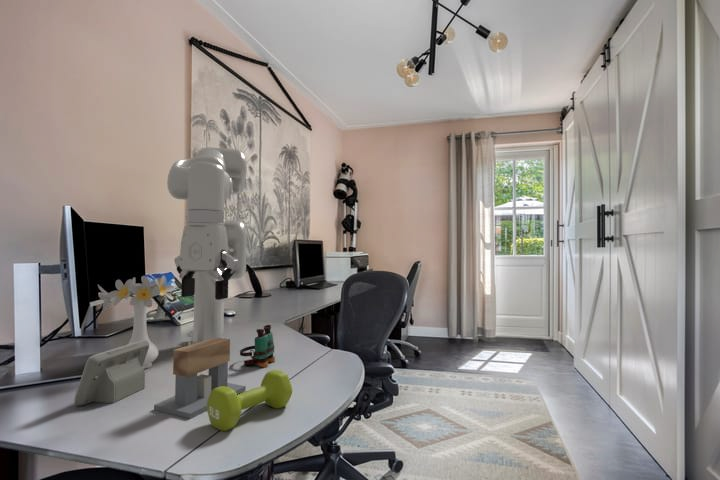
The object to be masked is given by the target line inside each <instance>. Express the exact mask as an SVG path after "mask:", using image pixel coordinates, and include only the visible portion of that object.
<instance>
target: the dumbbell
mask: <svg viewBox="0 0 720 480" xmlns="http://www.w3.org/2000/svg"><path fill="white" fill-rule="evenodd" d="M292 394H293V387H292V384H291V381H290V378H289V375H288V374H287V373H286V372H285V371H282V370H279V369H272V370H269V371H267V372H266V373H265V374H264V376H263V378H262V380H261V383H260V386H257V387H255V388H251V389H248V390H246V391H244V392H242V393H240V394H238V395H237V393H236V392H235V391H234V390H233V389H231V388H229V387H226V386H220V387H217V388H214V389H213V390H212V391H211V393H210V396H209V398H208V401H207V415H208V419H209V422H210V425H211V426H212V427H214V428H215V429H217V430H219V431H221V432H226V431H229V430H232V429H233V428H234V427H236V425H237V423H238V422H239V420H240V417H241V415H242V414H241V413H242V410H243V411H244V410H246V409H249V408H252V407H254V406H256V405H259V404H261V403H265V404H266V405H268V406H269V407H271V408H274V409H282V408H285V407H286V406H287V405H288V403H289V402H290V399H291V397H292Z"/></svg>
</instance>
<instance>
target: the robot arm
mask: <svg viewBox="0 0 720 480" xmlns="http://www.w3.org/2000/svg"><path fill="white" fill-rule="evenodd" d="M247 166H248V163H247V160H246V157H245V154H244V153H243V152H242V151H240V149H239V150H238V149H233V148H223V147H211V146H210V147H204V148H203V147H202V148H201V149H200V150H198V152H196V154H195V157H191V158H184V159H180V160H177V161H175V162H174V163H173V164H172V165H171V167H170V169H169V172H168V175H167V179H166V180H167V181H166V182H167V189H168V193H169V194H170V195H171V197H172V198H174V199H176V200H177V199H178V200H183V201H184V200H186V203H187V206H186V207H187V209H186V210H187V212H186V213H187V214H186V216H185V219H186V225H184V227H183V231H182V236H181V240H180V241H181V242H180V249H179V250H180V251H179V255H178V256H176V257H175V258H174V260H173V261H174V264H175V267H176V272H178V274H179V275H178V277H179V278H180V280H181V292H180V294H181V295H180V296H181V297H182V298H187V297H193V329H191V330H189V332H187V333H186V337H189V338H191V339H190V341H188V343H187V346H189V345H192V344H196V343H199V342H203V341H206V340H210V339H213V338H225V339H228V338H227V337H224V328H225V327H224V324H225V323H224V321H225V320H224V319H225V318H224V317H225V316H224V315H225V300H226V299H228V298H229V281H231V280H236V279H242V278H243V277H245V274H246V272H247V228H246V226H245V224H244V223H243V222H242V221H241V220H235V219H225V201H226V200H228V199H229V198H230V196H231V195H241V194H243V192H244V190H245V188H246V187H245V186H246V180H247V179H246V178H247V172H248V170H247V169H248V167H247ZM229 248H230V249H232V251H229Z"/></svg>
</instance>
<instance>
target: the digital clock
mask: <svg viewBox="0 0 720 480" xmlns="http://www.w3.org/2000/svg"><path fill="white" fill-rule="evenodd" d="M148 349H149V342H148V341H146V340H143V341H138V342H135V343H131V344H128V343H127V344H125V345H122V346H119V347H115V348H112V349H109V350H106V351H103V352H99V353H95V354H93V355H91V356H89V357H88V358H87V360H86V362H85V364H84V369H83V371H82V374H81V378H80V381H79V384H78V387H77V390H76V391H75V395H74V398H73V399H74V401H73V402H74V405H76V406H85V405H88V404H89V403H92V402H96V403H97V402H98V403H104V404H105V403H106V404H107V403H108V404H114V403H117V402H119V401H121V400H122V399H125V398H126V397H129V396H132V395H134V394H136V393H138V392H139V391H142V390H144V389H145V387H146V385H145V383H146V379H145V378H146V371H145V370H146V369H143V368H142V366H143V363H144V361H145V358H146V355H147V352H148Z"/></svg>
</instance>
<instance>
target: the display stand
mask: <svg viewBox="0 0 720 480" xmlns="http://www.w3.org/2000/svg"><path fill="white" fill-rule="evenodd" d="M228 364H229V361H228V362H226V363H223V364H220V365H218V366H215V367H212V368H210V369H208V375H207V374H203V373H202V374H198V373H197V374H194V375H191V376H189V377H185V376H180V375H175V385H174V387H175V390H174V392H175V393H174V396H172V397H169V398H167V399H165V400H163V401H160V402H157V403H155V404H153V410H154V411H157V412H163V413H166V414H170V415H174V416H178V417H180V418H181V417H182V418H186V419H190V420H192V419H193V418H195V417H196V416H199V415H201V414H202V413H205V412H206V411H207V401H208V398H209V396H210V393H211V391H212V390H213V389H214V388H217V387H220V386H226V387H229V388H231V389H233V390H234V391H235V392H236V393H237V394H239V393H241V392H243V391H244V392H245V390H246V389H247V388H246V385H241V384H237V383H231V382H228V380H229V379H228V374H229V373H228V370H229V368H228V367H229V365H228ZM246 391H247V390H246Z"/></svg>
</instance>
